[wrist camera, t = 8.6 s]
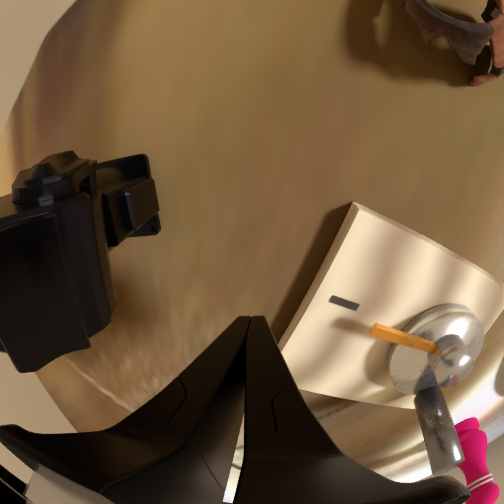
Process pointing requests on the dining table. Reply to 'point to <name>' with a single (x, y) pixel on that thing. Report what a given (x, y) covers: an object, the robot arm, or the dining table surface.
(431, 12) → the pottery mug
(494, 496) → the pepper mill
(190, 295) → the dining table surface
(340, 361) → the stand
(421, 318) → the shiny grey rounded pieces
